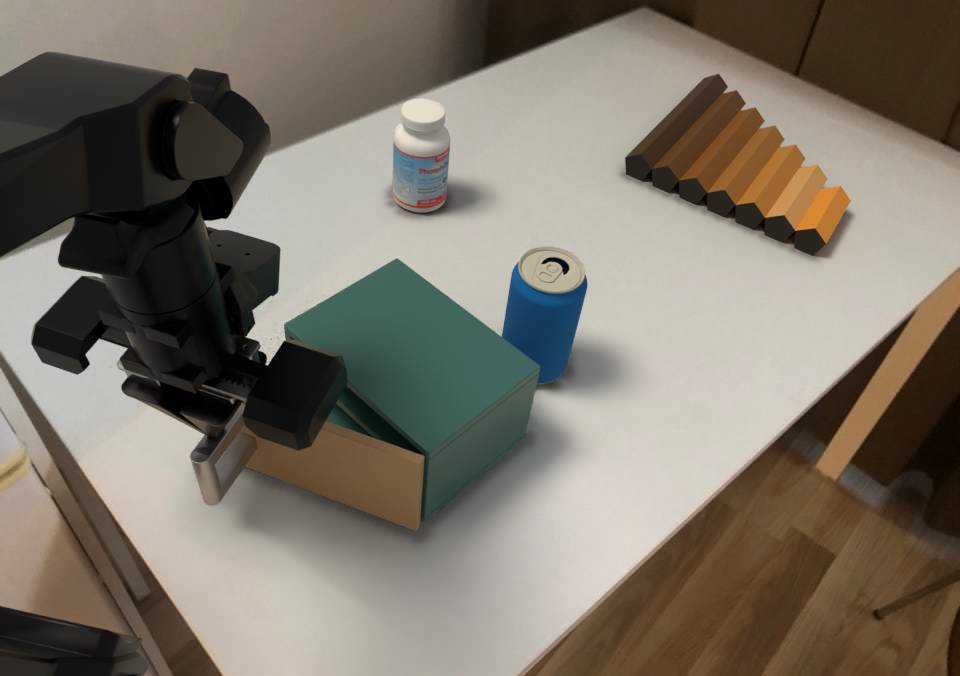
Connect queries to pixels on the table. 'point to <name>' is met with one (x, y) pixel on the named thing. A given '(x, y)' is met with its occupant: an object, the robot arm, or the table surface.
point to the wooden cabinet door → (318, 468)
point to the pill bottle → (421, 156)
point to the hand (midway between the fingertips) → (216, 432)
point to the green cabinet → (423, 376)
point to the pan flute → (738, 167)
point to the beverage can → (545, 307)
